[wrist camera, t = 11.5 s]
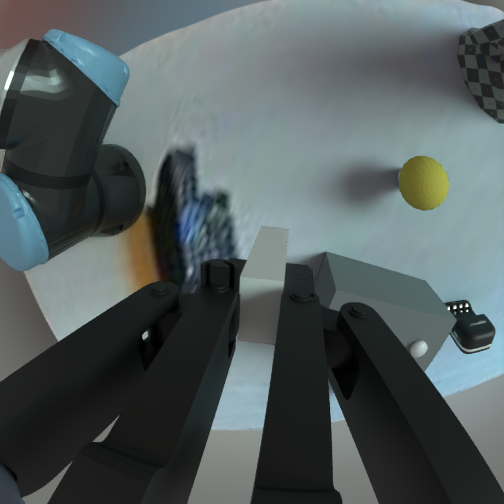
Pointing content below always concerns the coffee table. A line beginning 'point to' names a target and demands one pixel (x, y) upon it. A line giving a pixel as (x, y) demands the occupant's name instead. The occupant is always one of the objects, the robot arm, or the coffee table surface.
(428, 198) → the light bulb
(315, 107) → the coffee table surface
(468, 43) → the lantern
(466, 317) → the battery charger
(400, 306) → the small grey cabinet
